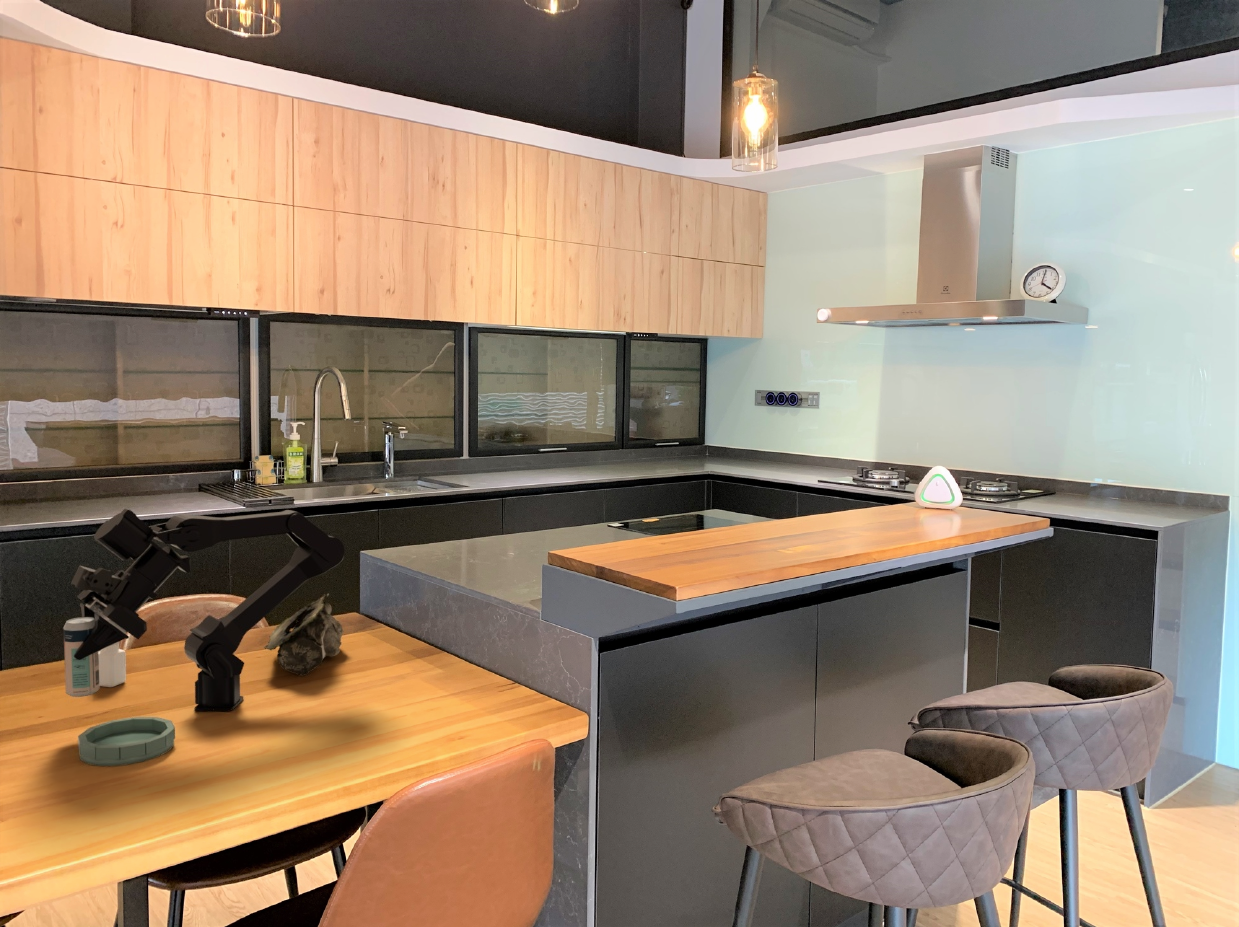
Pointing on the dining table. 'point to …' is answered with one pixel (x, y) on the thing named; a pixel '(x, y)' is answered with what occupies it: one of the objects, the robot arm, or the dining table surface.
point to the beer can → (79, 672)
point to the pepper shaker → (112, 666)
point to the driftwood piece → (307, 637)
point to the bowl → (126, 741)
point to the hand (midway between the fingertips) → (71, 654)
